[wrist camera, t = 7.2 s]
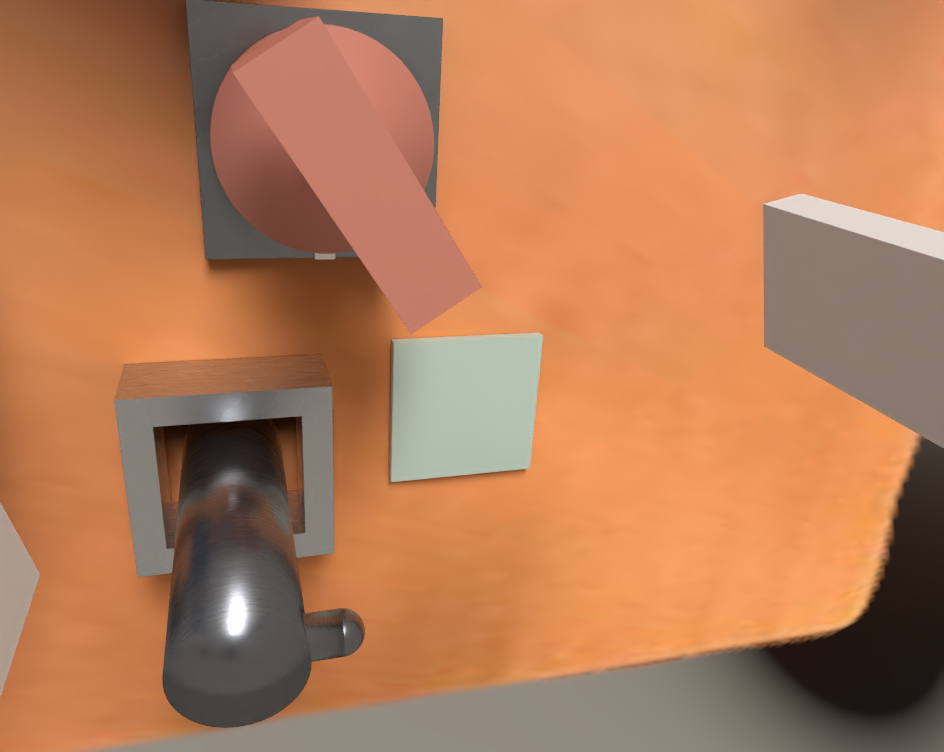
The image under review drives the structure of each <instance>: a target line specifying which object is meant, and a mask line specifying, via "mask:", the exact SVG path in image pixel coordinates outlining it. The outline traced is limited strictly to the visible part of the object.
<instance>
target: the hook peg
mask: <svg viewBox="0 0 944 752" xmlns="http://www.w3.org/2000/svg"><path fill="white" fill-rule="evenodd" d="M364 635H365V627H364V623H363V621H362V619H361V618H360V616H359V615H358V614H357V613H356V612H354V611H352V610H350V609H345V608H341V609H340V608H339V609H332V610H325V611H318V612H311V613H305V612H304V605H303V598H302V591H301V584H300V577H299V570H298V563H297V557H296V550H295V543H294V536H293V529H292V522H291V515H290V508H289V501H288V494H287V487H286V480H285V474H284V467H283V460H282V453H281V446H280V439H279V433H278V429H277V427H276V424H275V423H274V421H273V420H272V418H270V419H256V420H242V421H228V422H214V423H201V424H189V426H188V428H187V430H186V433H185V438H184V448H183V459H182V470H181V481H180V492H179V503H178V514H177V525H176V536H175V547H174V558H173V569H172V579H171V590H170V601H169V612H168V623H167V634H166V645H165V656H164V667H163V688H164V692H165V695H166V697H167V699H168V701H169V702H170V704H171V705H172V706H173V708H174V709H175V710H176V711H177V712H179V713H180V714H181V715H182V716H184V717H186V718H188V719H189V720H191V721H194V722H196V723H199V724H203V725H206V726H212V727H224V728H225V727H239V726H245V725H249V724H253V723H256V722H259V721H262V720H265V719H267V718H269V717H271V716H273V715H275V714H277V713H278V712H280V711H281V710H283V709H284V708H286V707H287V706H288V705H289V704H290V703H292V702H293V701H294V700H295V698H296V697H297V696H298V695H299V694H300V692H301V691H302V690H303V688H304V686H305V685H306V683H307V680H308V678H309V675H310V671H311V662H313V661H320V660H326V659H332V658H338V657H344V656H348V655H350V654H352V653H354V652H355V651H356V650H357V649H358V648H359V647H360V645H361V644H362V642H363V639H364Z"/></svg>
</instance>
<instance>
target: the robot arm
mask: <svg viewBox="0 0 944 752" xmlns="http://www.w3.org/2000/svg"><path fill="white" fill-rule="evenodd" d="M763 232H764V346H765V347H767V348H768V349H770V350H772V351H774V352H775V353H777V354H779V355H781V356H782V357H784V358H786V359H788V360H789V361H791V362H793V363H795V364H796V365H798V366H800V367H802V368H804V369H805V370H807V371H809V372H811V373H812V374H814V375H816V376H818V377H819V378H821V379H823V380H825V381H826V382H828V383H830V384H832V385H833V386H835V387H837V388H839V389H840V390H842V391H844V392H846V393H847V394H849V395H851V396H853V397H855V398H856V399H858V400H860V401H862V402H863V403H865V404H867V405H869V406H870V407H872V408H874V409H876V410H877V411H879V412H881V413H883V414H884V415H886V416H888V417H890V418H891V419H893V420H895V421H897V422H898V423H900V424H902V425H904V426H906V427H907V428H909V429H911V430H913V431H914V432H916V433H918V434H920V435H921V436H923V437H925V438H927V439H928V440H930V441H932V442H934V443H935V444H937V445H939V446H941V447H942V448H944V232H941V231H937V230H933V229H930V228H926V227H922V226H919V225H915V224H911V223H908V222H904V221H900V220H897V219H893V218H889V217H886V216H882V215H878V214H875V213H871V212H867V211H864V210H860V209H856V208H853V207H849V206H845V205H841V204H838V203H834V202H830V201H827V200H823V199H819V198H816V197H812V196H808V195H805V194H798V195H794V196H791V197H787V198H783V199H780V200H776V201H772V202H769V203H765V204H763ZM39 576H40V573H39V571H38V569H37V568H36V566H35V564H34V562H33V560H32V559H31V557H30V555H29V553H28V551H27V550H26V548H25V546H24V544H23V542H22V541H21V539H20V537H19V535H18V533H17V531H16V530H15V528H14V526H13V524H12V522H11V521H10V519H9V517H8V515H7V513H6V512H5V510H4V508H3V506H2V504H1V503H0V697H1V693H2V690H3V687H4V684H5V681H6V678H7V675H8V672H9V669H10V666H11V663H12V660H13V656H14V653H15V650H16V647H17V644H18V641H19V638H20V635H21V632H22V629H23V626H24V623H25V619H26V616H27V613H28V610H29V607H30V604H31V601H32V598H33V595H34V592H35V589H36V586H37V582H38V579H39Z"/></svg>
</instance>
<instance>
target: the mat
mask: <svg viewBox="0 0 944 752" xmlns="http://www.w3.org/2000/svg"><path fill="white" fill-rule="evenodd" d="M542 342H543V336H542V335H541V334H540V333H517V334H495V335H474V336H452V337H430V338H408V339H392V346H391V399H390V451H389V478H390V481H391V482H398V481H408V480H419V479H429V478H439V477H449V476H459V475H469V474H479V473H489V472H499V471H509V470H519V469H529V468H530V462H531V452H532V442H533V432H534V422H535V412H536V402H537V392H538V382H539V372H540V362H541V352H542Z"/></svg>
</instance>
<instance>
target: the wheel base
mask: <svg viewBox="0 0 944 752" xmlns="http://www.w3.org/2000/svg"><path fill="white" fill-rule="evenodd" d="M186 10H187V23H188V36H189V49H190V62H191V75H192V88H193V101H194V114H195V127H196V140H197V153H198V166H199V179H200V192H201V205H202V218H203V231H204V244H205V257H206V259H257V258H314V259H315V260H318V259H335V257H358V255H357V254H356V252H355V251H354V250H353V251H349V252H343V253H336V254H319V253H310V252H305V251H301V250H296V249H293V248H290V247H288V246H285V245H282V244H280V243H278V242H276V241H274V240H272V239H271V238H269V237H267V236H265V235H264V234H263V233H261V232H260V231H258V230H257V229H256V228H254V227H253V226H252V225H251V224H250V223H249V222H248V221H247V220H246V219H245V218H244V217H243V216H242V215H241V214H240V213H239V211H238V210H237V209H236V208H235V207H234V205H233V204H232V202H231V201H230V199H229V198H228V196H227V195H226V193H225V191H224V189H223V187H222V185H221V183H220V181H219V178H218V175H217V172H216V169H215V166H214V162H213V157H212V152H211V140H210V128H211V116H212V111H213V106H214V101H215V98H216V95H217V93H218V90H219V87H220V85H221V83H222V81H223V79H224V77H225V75H226V73H227V72H228V71H229V69H230V68H231V65H232V64H233V63H234V62H235V61H236V60H237V59H238V58H239V57H240V56H241V55H242V54H243V53H244V52H245V51H246V50H247V49H248V48H249V47H251V46H252V45H253V44H255V43H256V42H257V41H259V40H261V39H263V38H264V37H266V36H268V35H270V34H272V33H274V32H277V31H280V30H282V29H285V28H288V27H290V26H291V25H293V24H294V23H296V22H297V21H299V20H301V19H306V18H312V17H317V16H319V17H320V19H321V20H322V22H323V24H326V25H335V26H340V27H345V28H349V29H352V30H354V31H357V32H360V33H363V34H365V35H367V36H368V37H370V38H372V39H374V40H376V41H378V42H379V43H380V44H382V45H383V46H385V47H386V48H388V49H389V50H390V51H391V52H392V53H393V54H394V55H396V56H397V57H398V58H399V59H400V60H401V61H402V62H403V64H404V65H405V66H406V67H407V68H408V70H409V71H410V72H411V73H412V75H413V77H414V78H415V80H416V81H417V83H418V84H419V86H420V88H421V90H422V92H423V94H424V97H425V99H426V102H427V105H428V108H429V111H430V114H431V119H432V124H433V132H434V157H433V163H432V169H431V173H430V176H429V179H428V183H427V185H426V187H425V190H424V191H425V193H426V195H427V196H428V198H429V200H430V201H431V203H432V205H433V206H434V208H435V206H436V180H437V155H438V130H439V105H440V80H441V54H442V29H443V18H431V17H418V16H405V15H391V14H378V13H364V12H351V11H337V10H324V9H311V8H297V7H284V6H270V5H257V4H244V3H230V2H217V1H203V0H186Z"/></svg>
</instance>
